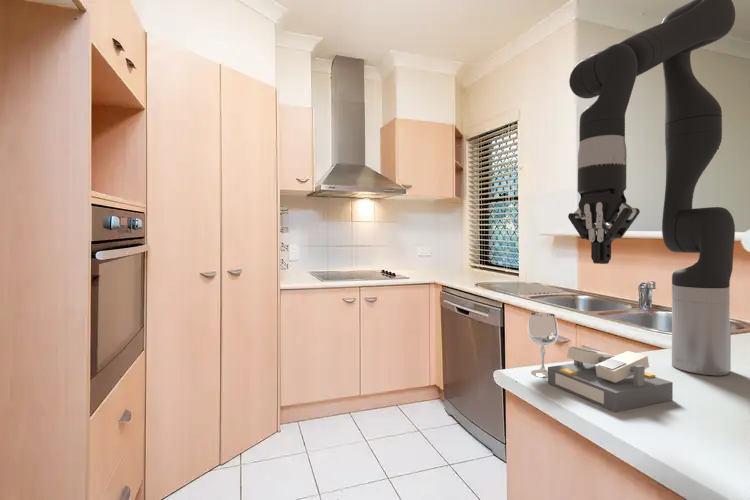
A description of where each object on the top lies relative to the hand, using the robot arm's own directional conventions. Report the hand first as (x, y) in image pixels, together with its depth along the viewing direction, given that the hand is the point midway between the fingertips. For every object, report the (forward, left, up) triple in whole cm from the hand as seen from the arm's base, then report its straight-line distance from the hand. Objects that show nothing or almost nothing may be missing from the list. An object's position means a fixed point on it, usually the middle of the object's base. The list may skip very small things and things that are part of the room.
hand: (600, 263), depth 71 cm
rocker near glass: (-1, -2, -17) cm, 18 cm away
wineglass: (+3, -11, -23) cm, 25 cm away
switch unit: (-1, +1, -23) cm, 23 cm away
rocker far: (-1, +4, -17) cm, 18 cm away
